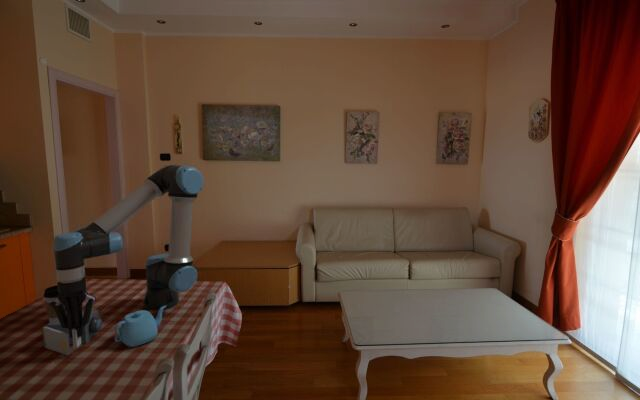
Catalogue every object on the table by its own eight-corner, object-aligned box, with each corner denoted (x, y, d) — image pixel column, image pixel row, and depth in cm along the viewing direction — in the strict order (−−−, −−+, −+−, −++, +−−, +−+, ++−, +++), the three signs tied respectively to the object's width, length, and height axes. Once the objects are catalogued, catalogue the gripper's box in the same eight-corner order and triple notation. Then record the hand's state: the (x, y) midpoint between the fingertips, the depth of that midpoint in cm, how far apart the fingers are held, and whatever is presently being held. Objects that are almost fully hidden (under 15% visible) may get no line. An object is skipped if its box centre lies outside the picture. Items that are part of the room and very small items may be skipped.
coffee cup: (57, 329, 125) (55, 292, 123) (40, 326, 127) (37, 290, 125) (77, 319, 133) (75, 284, 131) (61, 316, 135) (58, 282, 133)
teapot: (172, 309, 122) (118, 325, 109) (173, 335, 123) (119, 354, 111) (160, 298, 131) (109, 312, 118) (161, 323, 132) (110, 339, 119)
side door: (70, 354, 109) (69, 333, 108) (65, 356, 108) (63, 335, 107) (46, 345, 114) (45, 325, 113) (41, 348, 112) (39, 328, 111)
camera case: (106, 329, 126) (105, 307, 125) (93, 343, 117) (92, 320, 115) (64, 331, 124) (63, 310, 122) (48, 346, 114) (46, 323, 113)
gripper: (97, 274, 112) (103, 337, 115) (56, 276, 110) (62, 341, 112) (87, 281, 105) (92, 349, 107) (42, 284, 102) (49, 354, 105)
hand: (77, 345), depth 110 cm, fingers closed
